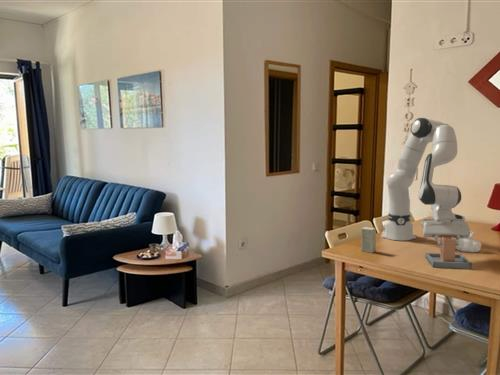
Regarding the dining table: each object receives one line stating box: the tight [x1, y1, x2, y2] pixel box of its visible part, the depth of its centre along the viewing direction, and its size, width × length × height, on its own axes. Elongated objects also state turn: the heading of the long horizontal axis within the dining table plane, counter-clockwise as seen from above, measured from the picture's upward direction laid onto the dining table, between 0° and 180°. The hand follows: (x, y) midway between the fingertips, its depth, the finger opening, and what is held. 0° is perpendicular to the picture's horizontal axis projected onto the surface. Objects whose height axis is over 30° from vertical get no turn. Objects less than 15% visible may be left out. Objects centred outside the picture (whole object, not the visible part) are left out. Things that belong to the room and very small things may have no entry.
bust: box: [455, 230, 482, 253], centre depth 205 cm, size 12×8×11 cm
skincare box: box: [360, 226, 377, 254], centre depth 206 cm, size 6×4×12 cm
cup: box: [439, 236, 456, 262], centre depth 185 cm, size 5×5×11 cm
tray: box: [424, 252, 473, 270], centre depth 186 cm, size 14×16×2 cm
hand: (448, 244), depth 184 cm, fingers open, 6 cm apart
